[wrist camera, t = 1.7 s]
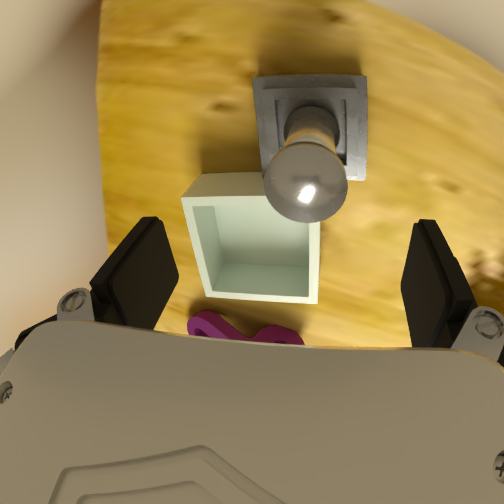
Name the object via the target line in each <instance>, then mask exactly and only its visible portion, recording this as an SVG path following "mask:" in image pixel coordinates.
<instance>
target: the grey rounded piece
mask: <svg viewBox="0 0 504 504" xmlns="http://www.w3.org/2000/svg"><path fill="white" fill-rule="evenodd" d="M283 135H284V140H285V145H284V147H283V148H281V149H280V150H279V151H278V152H277V153H276V154H275V155H274V156H273V158H272V159H271V161H270V163H269V165H268V167H267V170H266V172H265V176H264V191H265V194H266V197H267V199H268V201H269V203H270V204H271V206H272V207H273V208H274V209H275V210H276V211H277V212H278V213H279V214H281V215H282V216H284V217H285V218H287V219H290V220H292V221H295V222H300V223H315V222H319V221H323V220H325V219H327V218H329V217H331V216H332V215H334V214H335V213H336V212H337V211H338V210H339V209H340V208H341V206H342V205H343V203H344V201H345V198H346V195H347V189H348V184H347V177H346V172H345V168H344V166H343V164H342V162H341V160H340V159H339V157H338V156H337V155H336V148H337V146H338V144H339V141H340V129H339V125H338V121H337V119H336V117H335V115H334V114H333V113H332V112H331V111H330V110H329V109H328V108H326V107H324V106H322V105H319V104H315V103H307V104H303V105H300V106H298V107H297V108H295V109H294V110H293V111H292V112H291V113H290V115H289V116H288V118H287V120H286V122H285V125H284V130H283Z"/></svg>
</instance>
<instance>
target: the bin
mask: <svg viewBox="0 0 504 504" xmlns="http://www.w3.org/2000/svg"><path fill="white" fill-rule="evenodd" d="M181 200H182V205H183V209H184V213H185V217H186V221H187V225H188V230H189V234H190V238H191V242H192V246H193V249H194V253H195V257H196V261H197V265H198V269H199V272H200V276H201V280H202V284H203V287H204V291H205V294H206V297H216V298H229V299H242V300H256V301H271V302H288V303H308V304H317V303H318V288H319V272H320V236H321V221H319V222H315V223H300V222H295V221H292V220H290V219H287V218H285V217H284V216H282V215H281V214H279V213H278V212H277V211H276V210H275V209H274V208H273V207H272V206H271V204H270V203H269V201H268V199H267V197H266V194H265V191H264V179H263V177H262V172H231V173H208V174H201V175H200V176H199V177H198V178H197V179H196V181H195V182H194V183H193V184H192V185H191V186H190V187H189V189H188V190H187V191H186V192H185V193H184V194H183V196H182V197H181Z"/></svg>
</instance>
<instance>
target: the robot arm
mask: <svg viewBox="0 0 504 504" xmlns="http://www.w3.org/2000/svg"><path fill="white" fill-rule="evenodd" d="M178 279H179V274H178V270H177V267H176V264H175V261H174V257H173V254H172V251H171V248H170V244H169V241H168V238H167V234H166V231H165V228H164V224H163V222H162V221H161V220H159V218H158V217H142V218H141V219H140V221H139V222H138V223H137V224H136V225H135V226H134V228H133V229H132V230H131V231H130V232H129V233H128V235H127V236H126V237H125V238H124V239H123V241H122V242H121V243H120V244H119V245H118V247H117V248H116V249H115V250H114V252H113V253H112V254H111V255H110V257H109V258H108V259H107V260H106V262H105V263H104V264H103V265H102V267H101V268H100V269H99V271H98V272H97V273H96V274H95V276H94V277H93V278H92V280H91V281H90V282H89V283H90V285H91V287H92V289H91V291H90V292H89V290H87V289H85V288H76V289H73V290H71V291H69V292H68V293H66V294H65V295H64V296H63V297H62V298H61V299H60V301H59V303H58V306H57V314H56V315H54V316H52V317H50V318H48V319H46V320H44V321H42V322H40V323H38V324H36V325H34V326H32V327H30V328H28V329H26V330H24V331H22V332H21V333H20V335H19V337H18V339H17V340H16V343H15V350H13V349H12V348H11V349H10V350H9V351H7V352H6V353H5V354H4V355H2V356H1V357H0V504H504V318H503V317H502V315H501V314H500V313H498V312H497V311H496V310H494V309H492V308H489V307H478V306H477V303H476V301H475V299H474V296H473V294H472V291H471V289H470V287H469V284H468V282H467V280H466V278H465V275H464V273H463V271H462V269H461V267H460V265H459V262H458V260H457V259H456V257H454V256H453V254H452V252H451V250H450V248H449V246H448V244H447V242H446V240H445V238H444V236H443V234H442V232H441V230H440V228H439V226H438V224H437V223H436V221H435V220H428V219H420V220H419V222H418V223H414V225H413V230H412V235H411V240H410V245H409V250H408V254H407V259H406V263H405V267H404V271H403V276H402V280H401V293H402V297H403V302H404V306H405V311H406V316H407V321H408V326H409V331H410V337H411V343H412V347H338V346H313V345H294V344H278V343H264V342H252V341H240V340H230V339H220V338H211V337H202V336H193V335H185V334H177V333H170V332H162V331H155V330H153V329H154V327H155V325H156V323H157V321H158V319H159V317H160V315H161V313H162V311H163V309H164V308H165V306H166V304H167V302H168V300H169V298H170V296H171V294H172V292H173V290H174V288H175V286H176V284H177V283H178Z"/></svg>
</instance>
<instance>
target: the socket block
mask: <svg viewBox="0 0 504 504" xmlns="http://www.w3.org/2000/svg"><path fill="white" fill-rule="evenodd" d="M252 84H253V92H254V101H255V110H256V119H257V129H258V138H259V148H260V157H261V167H262V177H263V179H264V176H265V172H266V170H267V167H268V165H269V163H270V161H271V159H272V158H273V156H274V155H275V154H276V153H277V152H278V151H279V150H280V149H281V148H283V147H284V145H285V140H284V135H283V130H284V125H285V122H286V120H287V118H288V116H289V115H290V113H291V112H292V111H293V110H294V109H295V108H297V107H298V106H300V105H303V104H307V103H315V104H319V105H322V106H324V107H326V108H328V109H329V110H330V111H331V112H332V113H333V114H334V115H335V117H336V119H337V121H338V125H339V129H340V141H339V144H338V146H337V148H336V155H337V156H338V157H339V159H340V160H341V162H342V164H343V166H344V168H345V172H346V177H347V180H366V161H367V76H364V75H362V74H338V73H303V74H277V75H262V76H256V77H253V78H252Z"/></svg>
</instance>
